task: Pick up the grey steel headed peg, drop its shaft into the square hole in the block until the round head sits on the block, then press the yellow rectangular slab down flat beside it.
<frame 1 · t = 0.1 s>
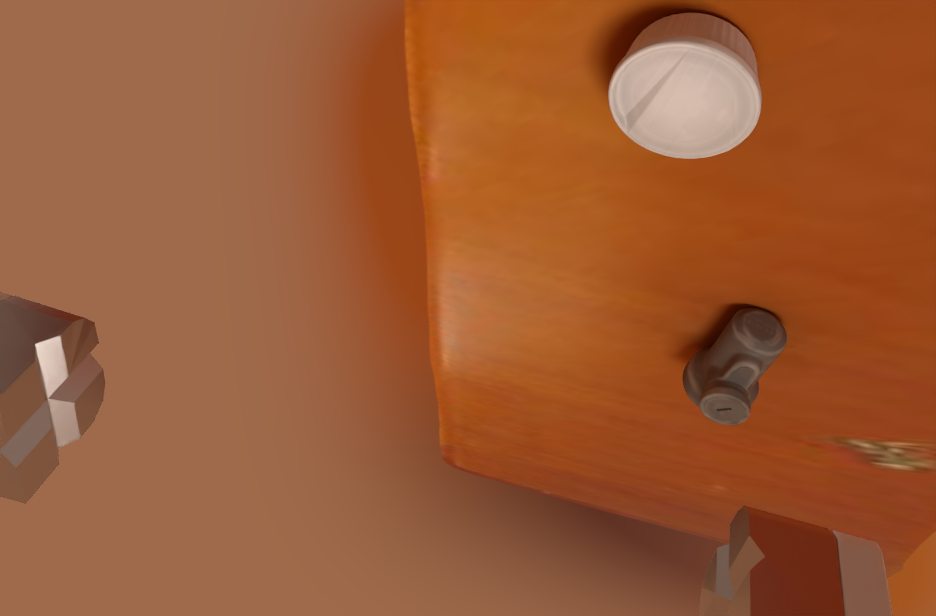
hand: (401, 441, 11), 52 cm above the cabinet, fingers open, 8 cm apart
ramekin: (692, 57, 68), on the cabinet
pipe fitting: (742, 330, 95), on the cabinet
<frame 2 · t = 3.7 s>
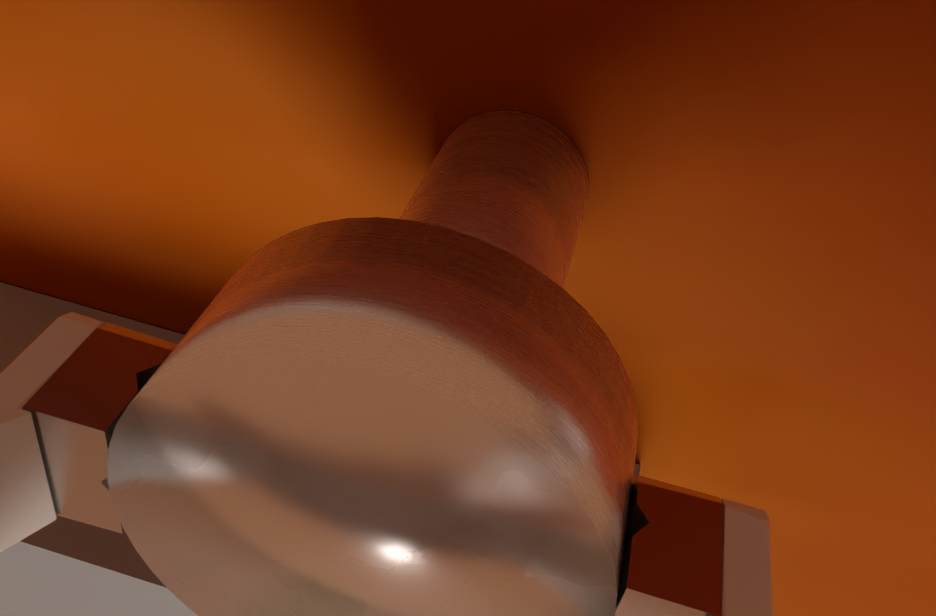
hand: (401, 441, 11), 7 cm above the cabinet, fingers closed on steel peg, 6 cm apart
hitch block: (289, 608, 26), on the cabinet
steel peg: (511, 183, 16), on the cabinet, touching gripper
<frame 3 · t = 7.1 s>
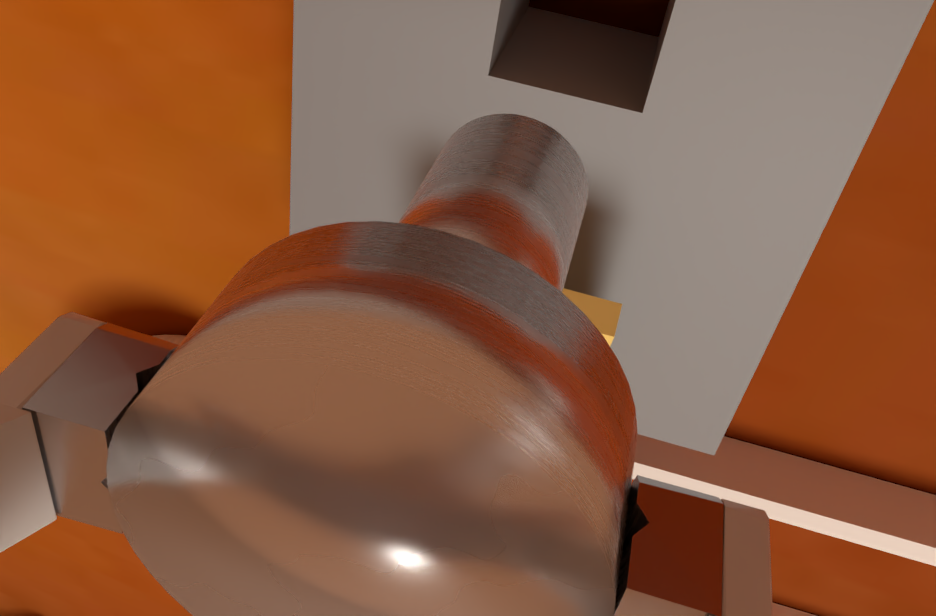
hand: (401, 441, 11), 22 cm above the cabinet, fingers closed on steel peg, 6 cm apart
rectangular frame: (839, 558, 41), on the cabinet
hitch block: (580, 72, 30), on the cabinet
steel peg: (510, 186, 16), point 15 cm above the cabinet, touching gripper
yellow rectangular slab: (499, 355, 27), point 8 cm above the cabinet, hinge at 26.7°
when the fingers open (8 cm above the cabinet, at t = 10.5 s): steel peg drops 2 cm, resting on hitch block.
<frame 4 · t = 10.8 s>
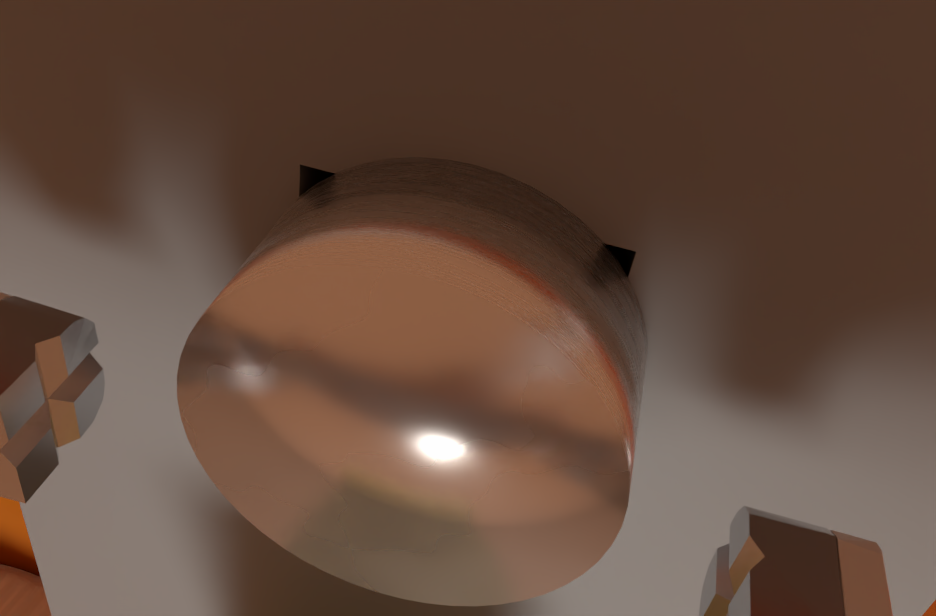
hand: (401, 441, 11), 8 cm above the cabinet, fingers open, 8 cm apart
hitch block: (490, 306, 20), on the cabinet
steel peg: (525, 147, 17), resting on hitch block
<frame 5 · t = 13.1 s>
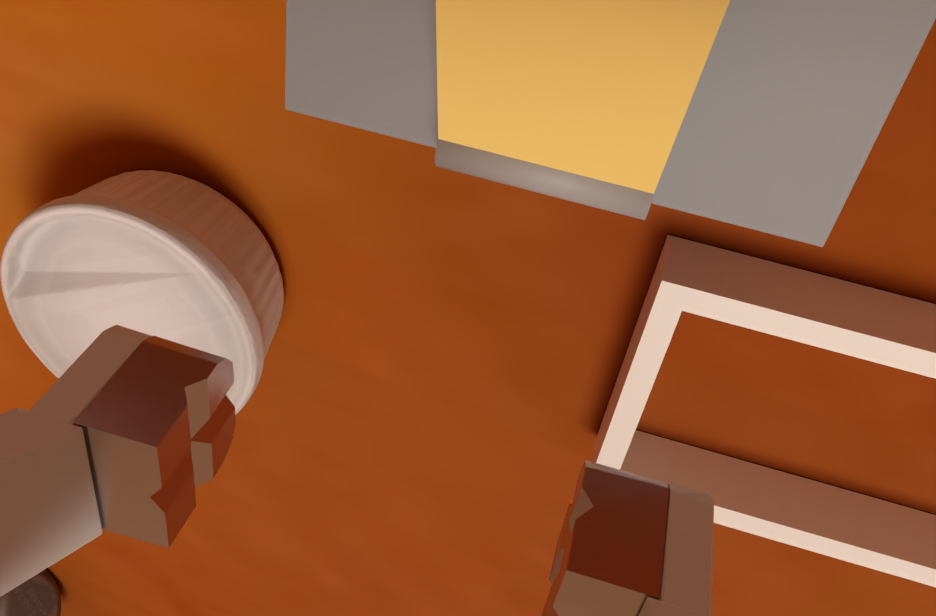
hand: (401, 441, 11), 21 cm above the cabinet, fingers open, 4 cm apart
ramekin: (191, 256, 39), on the cabinet
pipe fitting: (5, 575, 62), on the cabinet
yellow rectangular slab: (560, 82, 21), point 8 cm above the cabinet, hinge at 26.7°
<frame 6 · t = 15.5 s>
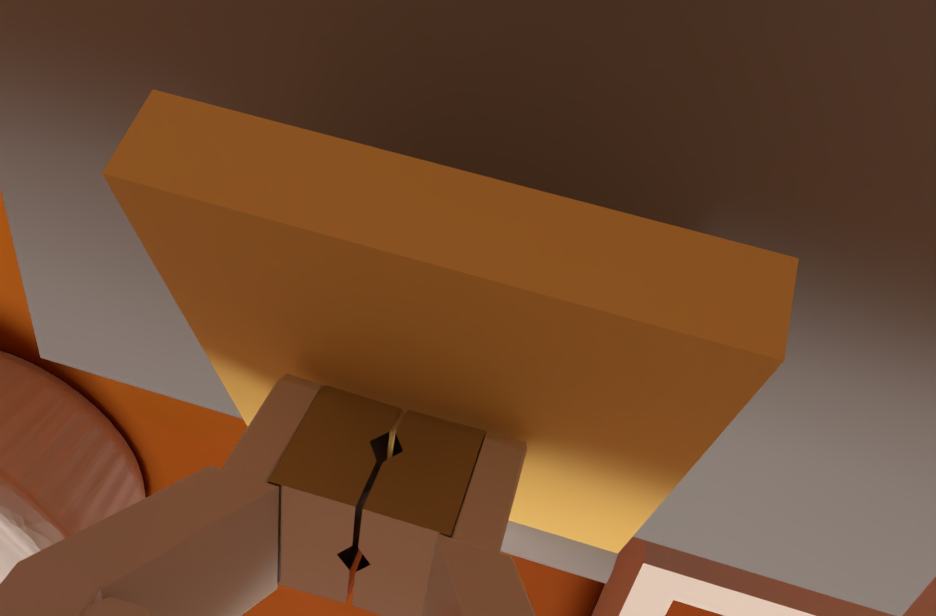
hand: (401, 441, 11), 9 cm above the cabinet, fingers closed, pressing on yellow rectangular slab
ramekin: (30, 437, 30), on the cabinet
yellow rectangular slab: (440, 409, 11), point 8 cm above the cabinet, hinge at 23.5°, touching gripper
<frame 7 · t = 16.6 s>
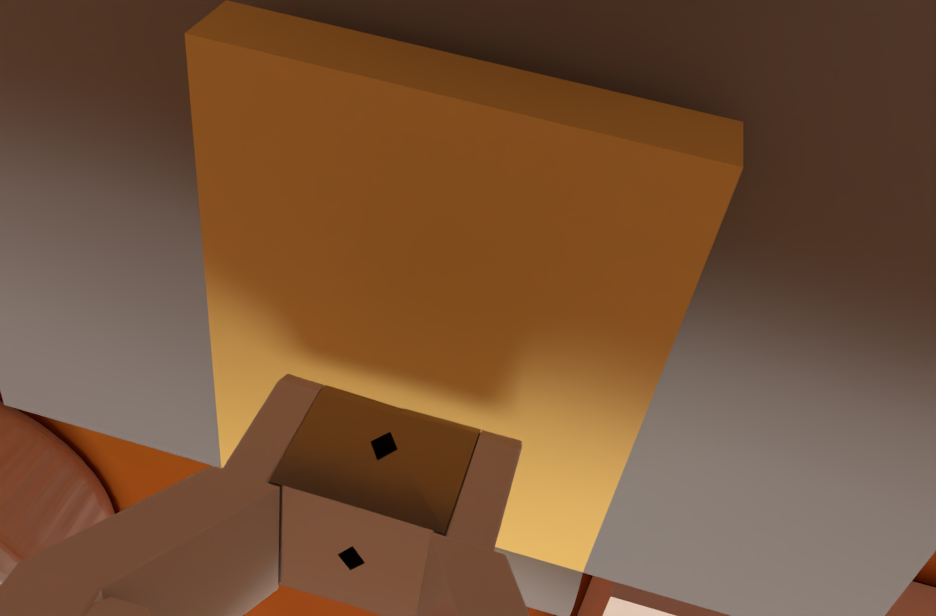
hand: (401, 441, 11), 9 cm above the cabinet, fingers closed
ramekin: (1, 475, 30), on the cabinet
yellow rectangular slab: (423, 369, 12), point 7 cm above the cabinet, hinge at 2.7°
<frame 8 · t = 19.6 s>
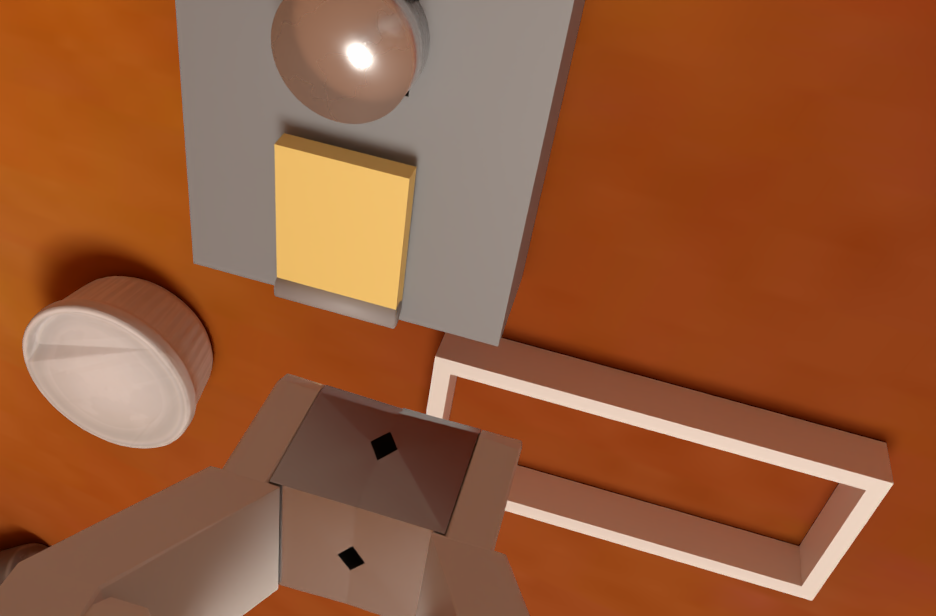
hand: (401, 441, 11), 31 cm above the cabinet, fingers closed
ramekin: (151, 328, 58), on the cabinet
rectangular frame: (636, 446, 53), on the cabinet
pipe fitting: (20, 554, 80), on the cabinet
hitch block: (397, 70, 42), on the cabinet
yellow rectangular slab: (340, 238, 40), point 7 cm above the cabinet, hinge at 2.5°
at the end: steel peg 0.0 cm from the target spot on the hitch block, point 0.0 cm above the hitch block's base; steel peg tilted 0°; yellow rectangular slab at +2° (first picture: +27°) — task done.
